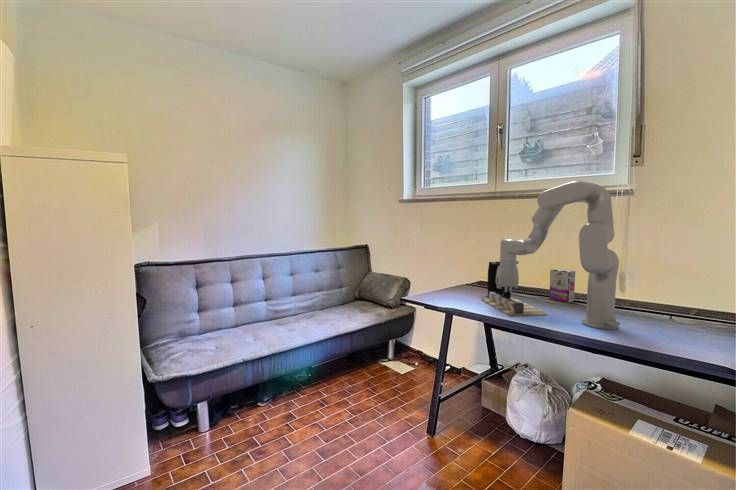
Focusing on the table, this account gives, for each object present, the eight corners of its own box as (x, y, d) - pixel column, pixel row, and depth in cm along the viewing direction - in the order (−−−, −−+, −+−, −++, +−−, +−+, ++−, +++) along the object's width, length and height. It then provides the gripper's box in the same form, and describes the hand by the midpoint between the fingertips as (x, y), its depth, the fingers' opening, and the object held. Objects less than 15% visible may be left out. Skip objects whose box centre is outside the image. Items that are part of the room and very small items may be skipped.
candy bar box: (574, 302, 179) (576, 271, 177) (568, 303, 177) (569, 271, 175) (555, 297, 189) (556, 268, 187) (548, 298, 187) (549, 268, 185)
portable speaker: (497, 294, 197) (498, 260, 195) (507, 298, 187) (508, 263, 186) (483, 295, 195) (484, 261, 193) (492, 299, 186) (493, 263, 184)
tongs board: (547, 315, 155) (547, 303, 155) (509, 316, 154) (509, 304, 153) (513, 299, 185) (514, 289, 184) (481, 300, 183) (481, 290, 183)
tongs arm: (520, 311, 157) (520, 303, 157) (516, 311, 157) (517, 303, 157) (494, 298, 182) (494, 291, 182) (491, 298, 182) (491, 291, 182)
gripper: (518, 262, 176) (517, 297, 177) (490, 262, 175) (489, 298, 176) (526, 264, 168) (524, 301, 170) (496, 264, 167) (495, 301, 169)
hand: (506, 299), depth 173 cm, fingers closed
